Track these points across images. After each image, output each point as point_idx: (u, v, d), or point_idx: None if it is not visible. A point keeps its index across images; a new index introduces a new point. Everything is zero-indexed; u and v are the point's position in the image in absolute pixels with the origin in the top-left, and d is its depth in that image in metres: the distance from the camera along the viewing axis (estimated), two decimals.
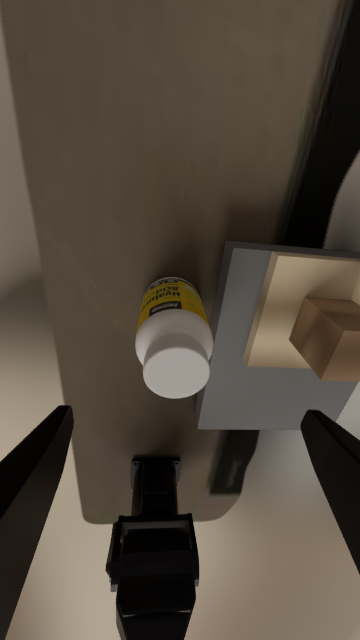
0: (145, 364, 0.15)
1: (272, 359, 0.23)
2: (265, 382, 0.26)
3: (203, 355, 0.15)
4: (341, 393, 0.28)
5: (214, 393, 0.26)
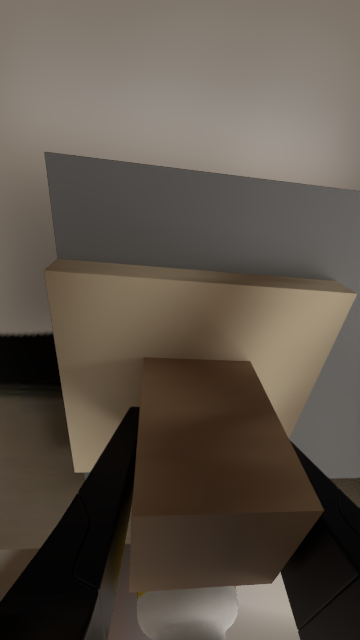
0: None
1: None
2: (335, 412, 0.13)
3: None
4: None
5: (326, 468, 0.16)
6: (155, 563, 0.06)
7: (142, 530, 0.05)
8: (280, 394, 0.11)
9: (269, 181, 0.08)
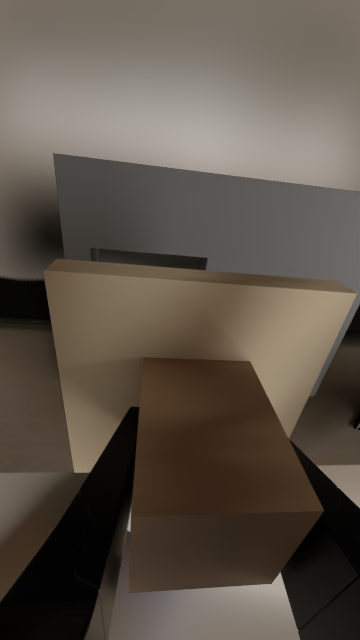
0: None
1: None
2: None
3: None
4: (312, 209, 0.15)
5: None
6: (155, 563, 0.06)
7: (142, 531, 0.05)
8: (280, 395, 0.11)
9: (184, 170, 0.14)
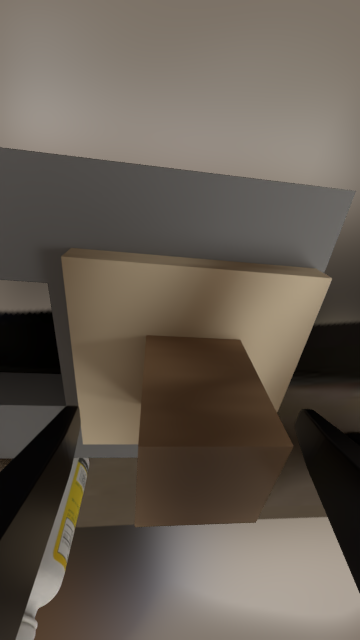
0: None
1: None
2: None
3: None
4: (197, 208, 0.10)
5: None
6: (157, 495, 0.07)
7: (147, 461, 0.07)
8: (267, 371, 0.12)
9: None
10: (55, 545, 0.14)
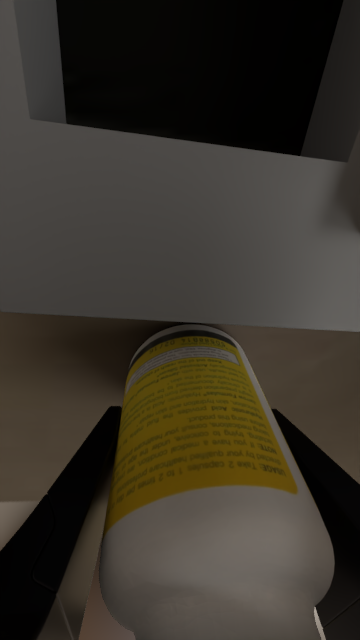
0: None
1: None
2: None
3: None
4: None
5: None
6: None
7: None
8: None
9: None
10: (306, 486, 0.06)
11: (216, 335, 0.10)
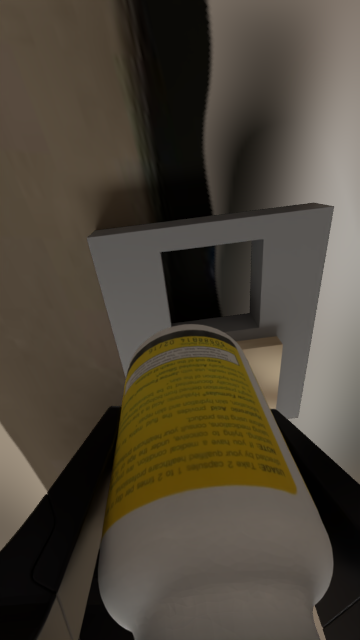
0: None
1: None
2: None
3: None
4: (293, 375, 0.24)
5: None
6: None
7: None
8: None
9: None
10: (305, 486, 0.06)
11: (216, 335, 0.10)
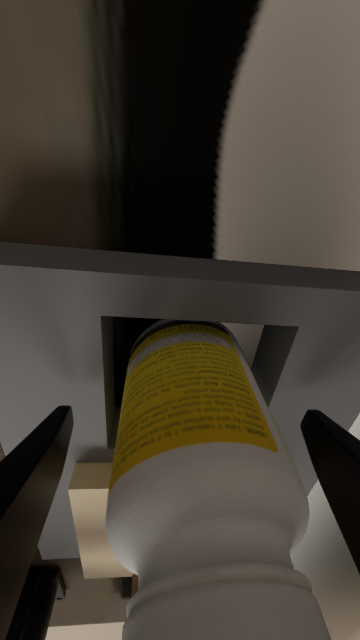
0: None
1: (120, 571, 0.16)
2: None
3: None
4: None
5: (47, 516, 0.14)
6: None
7: None
8: None
9: None
10: (287, 450, 0.07)
11: (211, 324, 0.11)
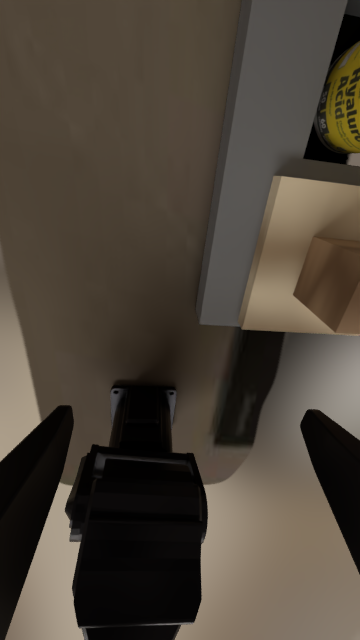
0: None
1: (273, 321, 0.19)
2: None
3: None
4: None
5: (225, 255, 0.18)
6: None
7: None
8: (314, 318, 0.19)
9: None
10: None
11: None
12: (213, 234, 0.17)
